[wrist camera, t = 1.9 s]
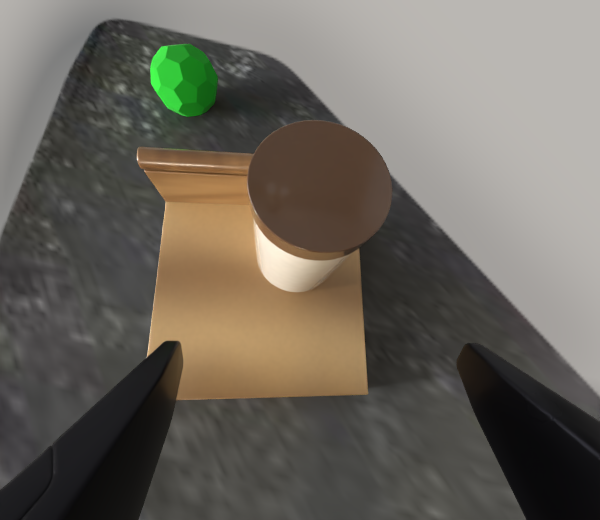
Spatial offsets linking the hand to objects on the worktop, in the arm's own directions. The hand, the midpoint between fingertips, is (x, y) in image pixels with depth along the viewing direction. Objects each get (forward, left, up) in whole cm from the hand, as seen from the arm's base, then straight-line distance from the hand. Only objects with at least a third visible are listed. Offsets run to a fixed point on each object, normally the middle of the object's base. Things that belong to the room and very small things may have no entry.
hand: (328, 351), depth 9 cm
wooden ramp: (+4, +1, -13) cm, 13 cm away
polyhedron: (+22, +1, -13) cm, 25 cm away
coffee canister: (+6, -2, -11) cm, 12 cm away
